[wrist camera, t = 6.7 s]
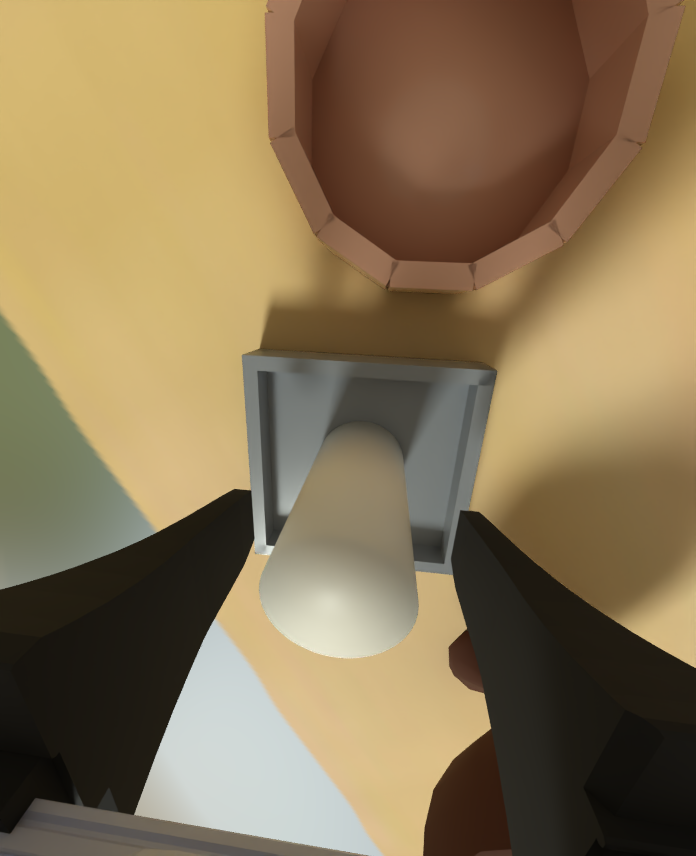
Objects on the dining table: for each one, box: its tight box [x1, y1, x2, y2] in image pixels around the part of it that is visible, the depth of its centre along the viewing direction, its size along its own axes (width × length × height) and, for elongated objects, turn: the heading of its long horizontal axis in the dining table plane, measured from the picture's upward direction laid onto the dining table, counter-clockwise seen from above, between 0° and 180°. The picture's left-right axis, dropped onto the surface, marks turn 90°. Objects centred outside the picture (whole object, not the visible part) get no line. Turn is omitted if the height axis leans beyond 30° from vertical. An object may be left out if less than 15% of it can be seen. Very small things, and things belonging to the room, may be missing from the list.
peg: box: [259, 421, 419, 658], centre depth 12 cm, size 4×4×8 cm
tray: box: [242, 349, 497, 575], centre depth 16 cm, size 10×10×2 cm
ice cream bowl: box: [423, 631, 512, 856], centre depth 13 cm, size 11×11×15 cm
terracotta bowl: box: [265, 0, 685, 294], centre depth 10 cm, size 11×11×3 cm
